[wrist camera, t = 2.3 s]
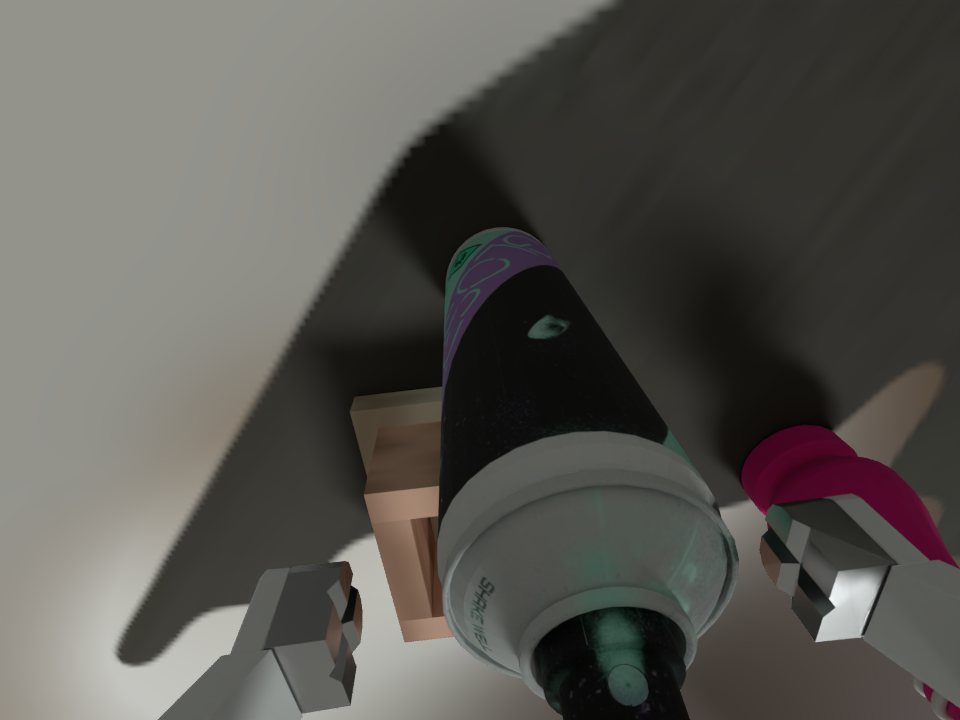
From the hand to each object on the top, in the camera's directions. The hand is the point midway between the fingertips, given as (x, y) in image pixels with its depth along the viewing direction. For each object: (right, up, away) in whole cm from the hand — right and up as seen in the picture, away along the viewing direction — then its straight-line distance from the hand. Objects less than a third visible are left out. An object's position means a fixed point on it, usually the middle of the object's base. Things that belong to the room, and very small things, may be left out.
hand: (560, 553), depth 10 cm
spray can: (-1, +8, +15) cm, 17 cm away
